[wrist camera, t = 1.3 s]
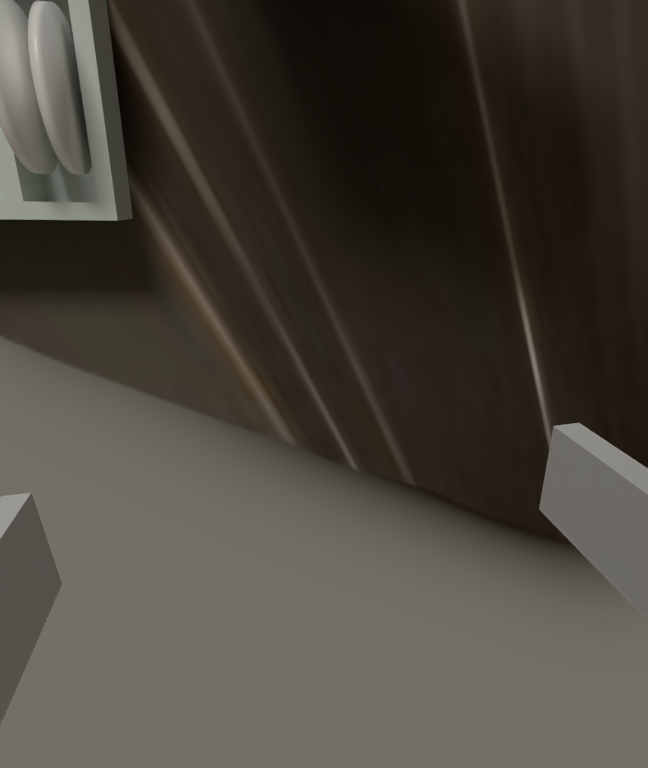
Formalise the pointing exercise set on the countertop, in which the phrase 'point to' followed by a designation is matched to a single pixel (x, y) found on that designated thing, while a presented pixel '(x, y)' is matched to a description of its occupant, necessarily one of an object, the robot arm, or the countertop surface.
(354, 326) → the countertop surface
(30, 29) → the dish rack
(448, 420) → the countertop surface
